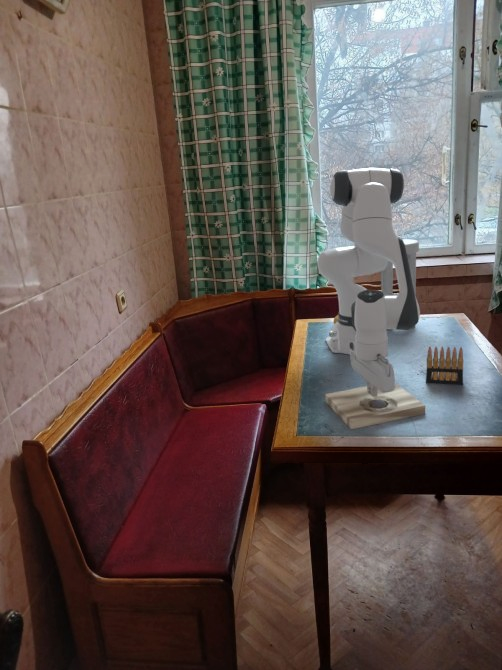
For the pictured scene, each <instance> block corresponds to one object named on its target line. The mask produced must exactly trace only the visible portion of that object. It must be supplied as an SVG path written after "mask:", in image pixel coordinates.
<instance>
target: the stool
mask: <svg viewBox="0 0 502 670" xmlns="http://www.w3.org/2000/svg"><path fill="white" fill-rule="evenodd" d="M401 239H402V240H403V242H404V244H405V247H406V251H407V256H408V260H409V265H410V271H411V276H412V281H413V288H414V293H415V297H416V292H417V291H416V290H417V288H416V287H417V286H416V284H417V253H418V252H419V251H420V242H419V241H418V240H416V239H410V238H401ZM393 267H394V265H393V264H392V263H391V262H390V261H388V265H387V267H386V268H385V269H384V270H383V271H380V278H381V279H380V288H381V289H380V291H381V292H383V293H384V295H385V296H388V295H398V294H399V292H397V293H395V292H394V293H393V291H394V287H393V286H394V285H393V284H394V277H393V275H394V274H393V273H394V269H393ZM416 298H417V297H416ZM413 328H416V325H415V326H414V327H413Z"/></svg>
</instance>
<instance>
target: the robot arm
mask: <svg viewBox="0 0 502 670" xmlns="http://www.w3.org/2000/svg"><path fill="white" fill-rule="evenodd" d="M329 191H330V193H329V194H330V195H331V199H332V202H334V203H335V204H336V205H338V206H342V211H341V218H340V219H341V220H340V232H341V234H342V236H343V238H345V239H346V240H347V241H349V242H351V243H353V245H348V246H339V247H333V248H330V249H326V250H323V251H321V253H320V254H319V256H318V258H317V263H316V264H317V270H318V272H319V274H320V275H321V276H322V277H323V278H325V279H326V280H328V281H329V282H330V284H332V285H333V287H334V289H335V290H336V293H337V299H338V310H339V311H338V312H337V313H338V314H337V315H338V320H337V321H338V322H337V323H336V324H335V325H334V324H333V325H332V326H331V329H330V330H329V331H328V337H326V338H325V342H326V344H327V346H328V347H329V349H330V351H331V353H335V354H343V355H344V354H345V355H349V358H350V365H351V368H352V370H353V371H355V372H356V373H357V374H359V375H360V376H361V377H362V378H364V382H365V383H364V384H365V386H367V392H368V393H369V394H370V395H371V396H377V390H380V391H381V392H382V393H387V392H392V391H394V389H395V383H396V382H395V381H396V379H395V371H394V367H393V365H392V364H391V363H390V362H389V359H388V358H387V357H388V355H389V342H388V341H389V338H388V334H387V330H399V331H410V330H411V329H414V328H415V327H416V326H417V324H418V323H419V320H420V317H421V316H420V315H421V311H420V305H419V303H418V299H417V297H415V293H414V288H413V281H412V276H411V271H410V265H409V260H408V256H407V251H406V247H405V244H404V242H403V240H402V239H403V238H400V237H398V236H397V235H396V232H395V230H394V229H393V228H394V227H393V213H392V212H393V211H392V204H396V203H398V202H399V201H400V200H401V199H402V197H403V194H404V191H405V180H404V175H403V173H402V172H401V171H400V170H399V169H396V168H391V167H389V168H381V167H367V168H356V169H355V168H354V169H349V170H347V169H342V170H339V171H336V172H335V174H334V175H333V176H332V179H331V182H330V186H329ZM388 261H390V262H391V263H392V264H393V267H394V269H395V274H396V279H397V285H398V289H399V290H398V291H399V292H398V293H399V294H398V295H388V296H385V295H384V293H383V292H381V290H378V289H367V288H366V287H364V286H362V285H360V284H357V283H355V280H354V278H355V277H359V276H360V277H361V276H368V275H374V274H377V273H381V271H383V270H384V269H385V268H386V267H387V265H388ZM414 326H415V327H414Z"/></svg>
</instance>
